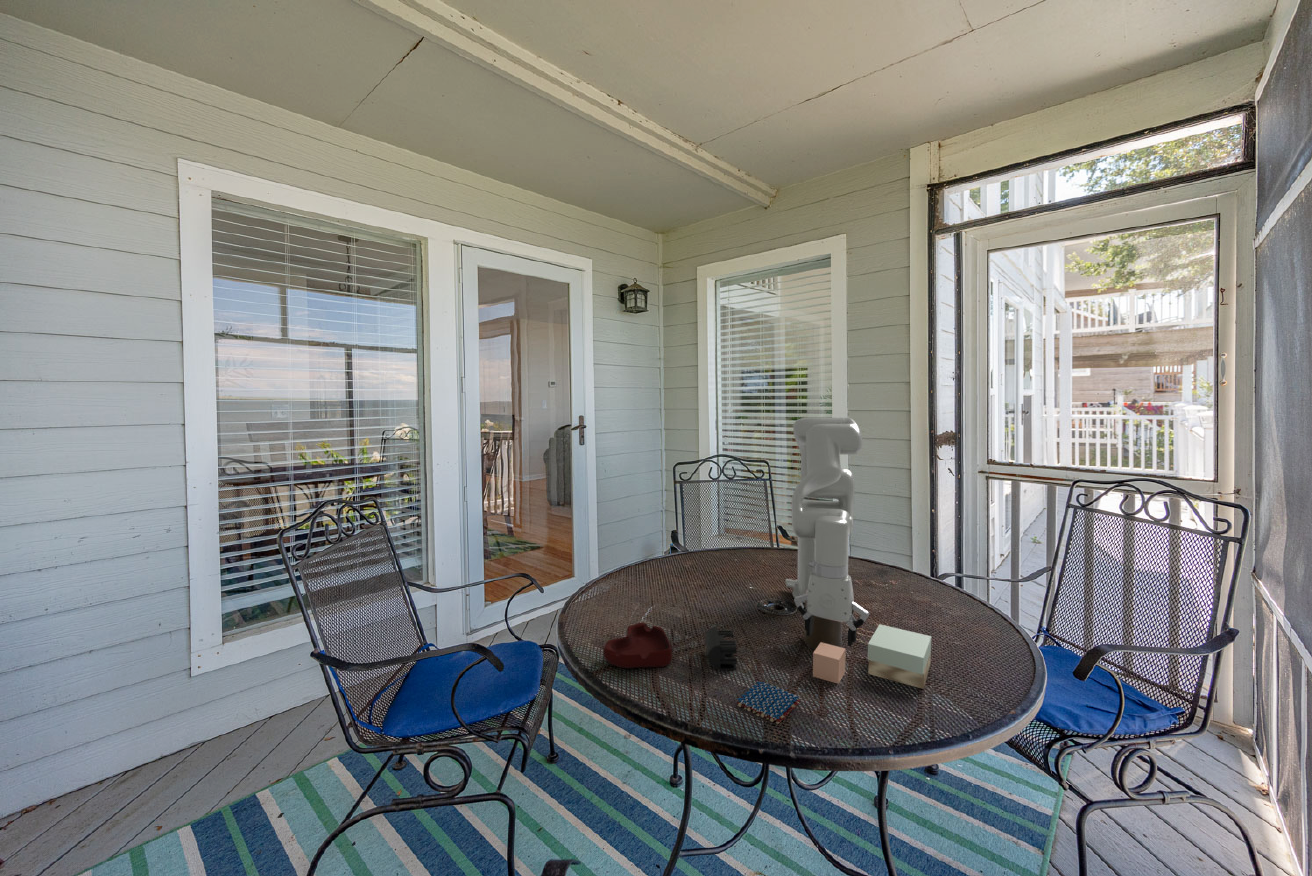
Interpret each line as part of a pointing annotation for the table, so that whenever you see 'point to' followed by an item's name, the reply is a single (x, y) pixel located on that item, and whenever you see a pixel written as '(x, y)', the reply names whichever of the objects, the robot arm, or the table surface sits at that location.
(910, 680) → the birch slab
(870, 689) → the table surface
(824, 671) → the terracotta cube
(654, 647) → the ashtray
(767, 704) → the woven mat
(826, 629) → the pillar candle
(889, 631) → the sage slab
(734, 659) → the end cap
